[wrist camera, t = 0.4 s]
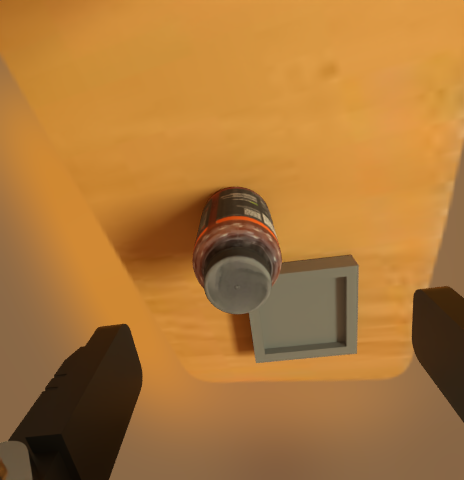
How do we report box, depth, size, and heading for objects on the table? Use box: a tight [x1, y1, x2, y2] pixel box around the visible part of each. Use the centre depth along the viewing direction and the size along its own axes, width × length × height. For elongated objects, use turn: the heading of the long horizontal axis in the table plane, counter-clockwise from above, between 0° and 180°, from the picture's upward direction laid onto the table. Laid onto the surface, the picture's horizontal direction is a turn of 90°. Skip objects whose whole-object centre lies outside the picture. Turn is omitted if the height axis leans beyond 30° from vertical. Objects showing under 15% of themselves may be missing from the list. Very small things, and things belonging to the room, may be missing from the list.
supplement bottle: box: [193, 187, 282, 314], centre depth 25 cm, size 6×6×11 cm
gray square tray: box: [249, 255, 359, 363], centre depth 32 cm, size 10×10×2 cm
